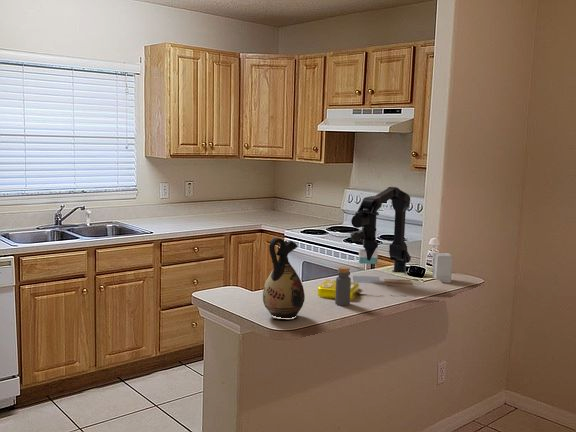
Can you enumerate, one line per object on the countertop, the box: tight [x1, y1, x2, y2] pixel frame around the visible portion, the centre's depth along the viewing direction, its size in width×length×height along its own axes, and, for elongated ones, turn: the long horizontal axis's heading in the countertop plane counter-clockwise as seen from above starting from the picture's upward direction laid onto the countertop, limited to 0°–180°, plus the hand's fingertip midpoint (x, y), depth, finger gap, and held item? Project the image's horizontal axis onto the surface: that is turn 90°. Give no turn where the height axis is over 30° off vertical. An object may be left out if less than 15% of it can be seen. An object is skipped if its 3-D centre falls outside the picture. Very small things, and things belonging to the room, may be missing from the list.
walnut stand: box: [383, 278, 415, 288], centre depth 266 cm, size 12×12×2 cm
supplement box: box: [432, 252, 454, 284], centre depth 278 cm, size 7×7×13 cm
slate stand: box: [352, 275, 382, 284], centre depth 271 cm, size 12×12×2 cm
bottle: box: [334, 265, 352, 307], centre depth 236 cm, size 6×6×15 cm
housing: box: [358, 248, 379, 265], centre depth 269 cm, size 8×5×6 cm, turn 88°
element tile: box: [317, 279, 360, 301], centre depth 250 cm, size 15×15×5 cm
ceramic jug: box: [262, 237, 306, 318], centre depth 216 cm, size 17×15×30 cm
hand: (368, 259), depth 269 cm, fingers closed on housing, 5 cm apart
